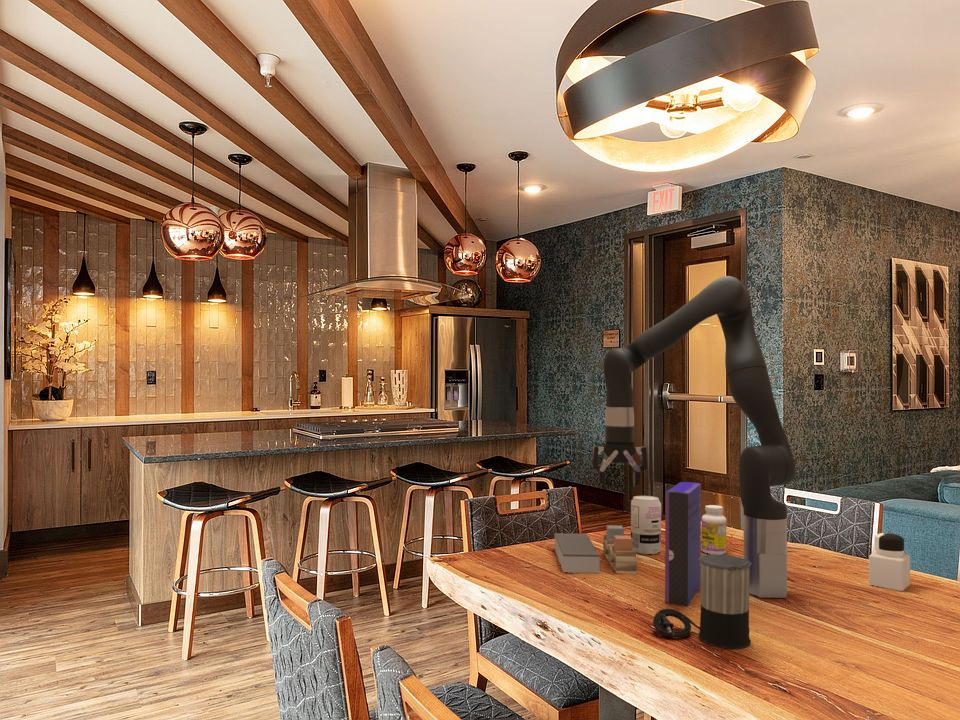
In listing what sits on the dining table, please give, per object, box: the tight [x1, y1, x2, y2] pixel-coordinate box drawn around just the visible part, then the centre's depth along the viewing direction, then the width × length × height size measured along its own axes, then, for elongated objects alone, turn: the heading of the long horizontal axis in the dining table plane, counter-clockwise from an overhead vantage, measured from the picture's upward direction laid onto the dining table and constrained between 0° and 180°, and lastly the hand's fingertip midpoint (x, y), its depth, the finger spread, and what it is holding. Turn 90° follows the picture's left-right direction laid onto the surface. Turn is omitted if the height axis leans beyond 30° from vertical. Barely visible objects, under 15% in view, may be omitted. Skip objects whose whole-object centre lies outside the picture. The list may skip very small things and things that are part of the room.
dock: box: [553, 532, 601, 574], centre depth 187 cm, size 24×9×4 cm, turn 179°
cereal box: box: [664, 481, 702, 607], centre depth 159 cm, size 17×5×24 cm, turn 154°
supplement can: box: [630, 495, 662, 555], centre depth 198 cm, size 8×8×15 cm
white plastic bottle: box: [868, 532, 911, 592], centre depth 167 cm, size 7×7×12 cm
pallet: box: [602, 533, 638, 575], centre depth 185 cm, size 20×5×6 cm, turn 179°
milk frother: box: [652, 553, 751, 650], centre depth 132 cm, size 14×16×15 cm
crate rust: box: [614, 534, 633, 553], centre depth 179 cm, size 4×4×4 cm
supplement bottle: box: [701, 504, 727, 555], centre depth 198 cm, size 7×7×13 cm
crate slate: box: [606, 524, 625, 539], centre depth 191 cm, size 4×4×4 cm
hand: (619, 485), depth 186 cm, fingers open, 8 cm apart
